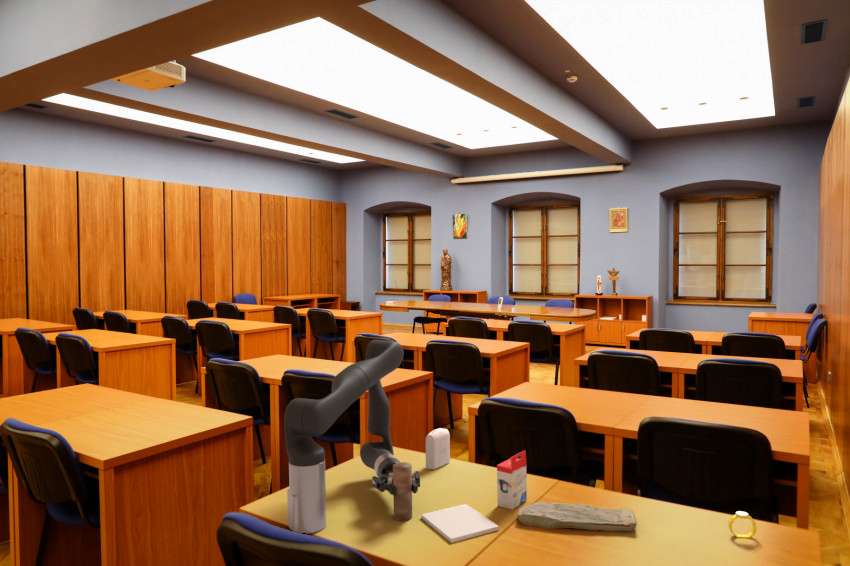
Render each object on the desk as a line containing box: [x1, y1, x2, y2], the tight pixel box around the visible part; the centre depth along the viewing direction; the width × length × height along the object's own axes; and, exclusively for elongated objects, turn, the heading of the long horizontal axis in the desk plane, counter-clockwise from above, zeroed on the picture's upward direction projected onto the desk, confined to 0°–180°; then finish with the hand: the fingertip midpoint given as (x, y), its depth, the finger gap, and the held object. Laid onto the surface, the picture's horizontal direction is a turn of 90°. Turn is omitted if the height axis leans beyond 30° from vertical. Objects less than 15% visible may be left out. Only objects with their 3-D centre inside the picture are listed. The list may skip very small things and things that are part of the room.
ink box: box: [496, 450, 528, 510], centre depth 162 cm, size 8×5×15 cm, turn 141°
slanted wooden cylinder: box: [392, 461, 413, 522], centre depth 154 cm, size 5×5×14 cm
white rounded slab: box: [425, 427, 451, 470], centre depth 194 cm, size 10×4×12 cm, turn 143°
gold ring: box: [727, 510, 757, 539], centre depth 140 cm, size 6×3×6 cm, turn 82°
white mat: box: [420, 503, 500, 544], centre depth 149 cm, size 14×16×1 cm
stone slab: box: [517, 501, 638, 532], centre depth 150 cm, size 12×4×30 cm
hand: (405, 490), depth 151 cm, fingers closed on slanted wooden cylinder, 5 cm apart
